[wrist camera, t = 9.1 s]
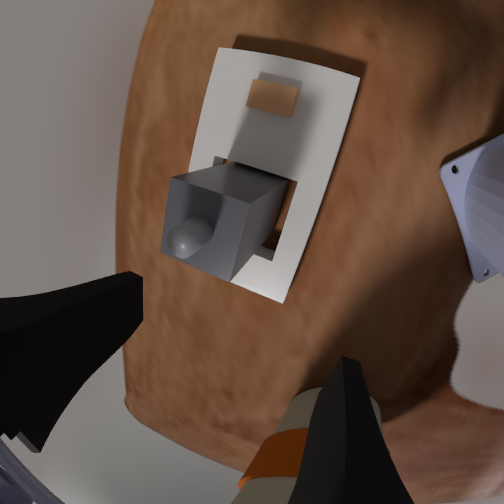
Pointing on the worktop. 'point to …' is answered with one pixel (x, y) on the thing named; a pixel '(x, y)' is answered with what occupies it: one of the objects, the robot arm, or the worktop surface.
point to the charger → (221, 216)
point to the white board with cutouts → (276, 143)
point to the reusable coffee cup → (282, 455)
